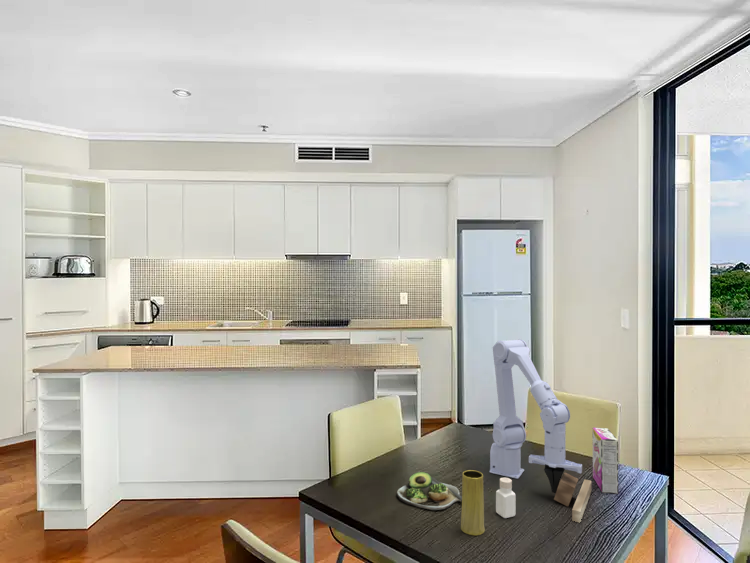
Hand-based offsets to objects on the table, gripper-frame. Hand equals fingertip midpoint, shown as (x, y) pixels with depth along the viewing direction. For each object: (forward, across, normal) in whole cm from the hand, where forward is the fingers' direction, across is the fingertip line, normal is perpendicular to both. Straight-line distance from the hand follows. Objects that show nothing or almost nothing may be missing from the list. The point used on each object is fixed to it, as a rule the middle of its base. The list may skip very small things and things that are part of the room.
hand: (554, 491), depth 137 cm
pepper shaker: (+2, -10, -17) cm, 20 cm away
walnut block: (+1, +2, 0) cm, 3 cm away
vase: (+2, -14, -29) cm, 32 cm away
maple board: (+2, +8, 0) cm, 8 cm away
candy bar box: (+2, +12, +17) cm, 21 cm away
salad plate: (+2, -32, -18) cm, 37 cm away
